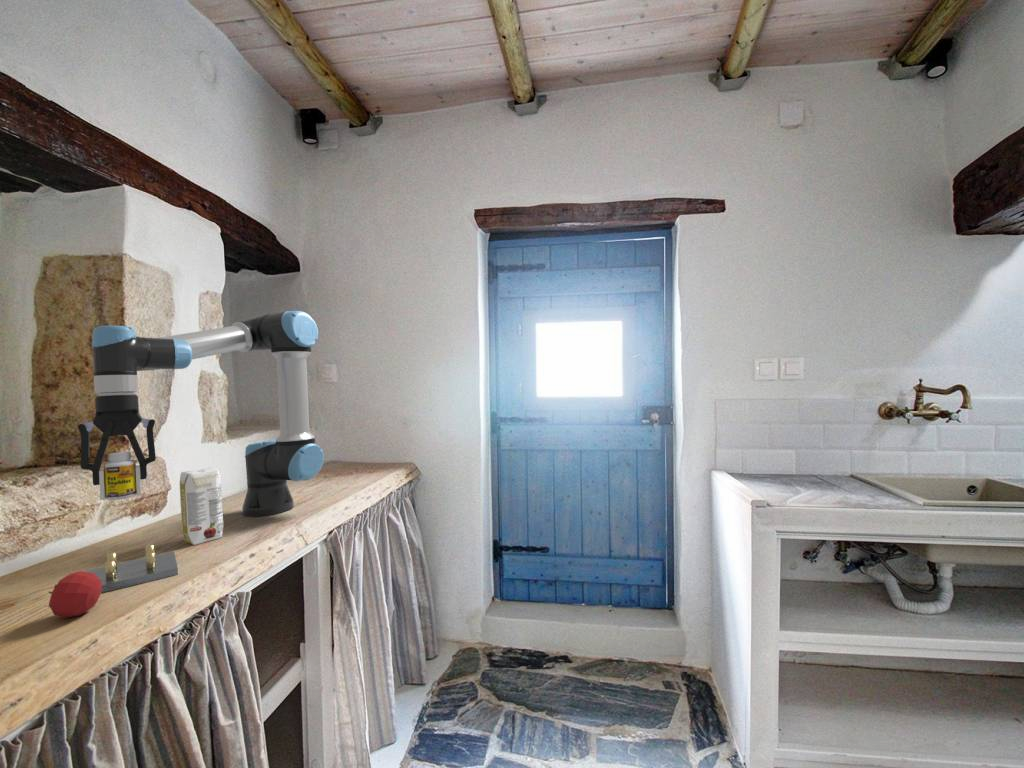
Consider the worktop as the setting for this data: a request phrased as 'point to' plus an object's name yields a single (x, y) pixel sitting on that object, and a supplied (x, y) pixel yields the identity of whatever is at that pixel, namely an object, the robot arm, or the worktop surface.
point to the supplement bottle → (120, 476)
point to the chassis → (135, 570)
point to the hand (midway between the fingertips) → (121, 496)
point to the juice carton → (201, 505)
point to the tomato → (75, 594)
